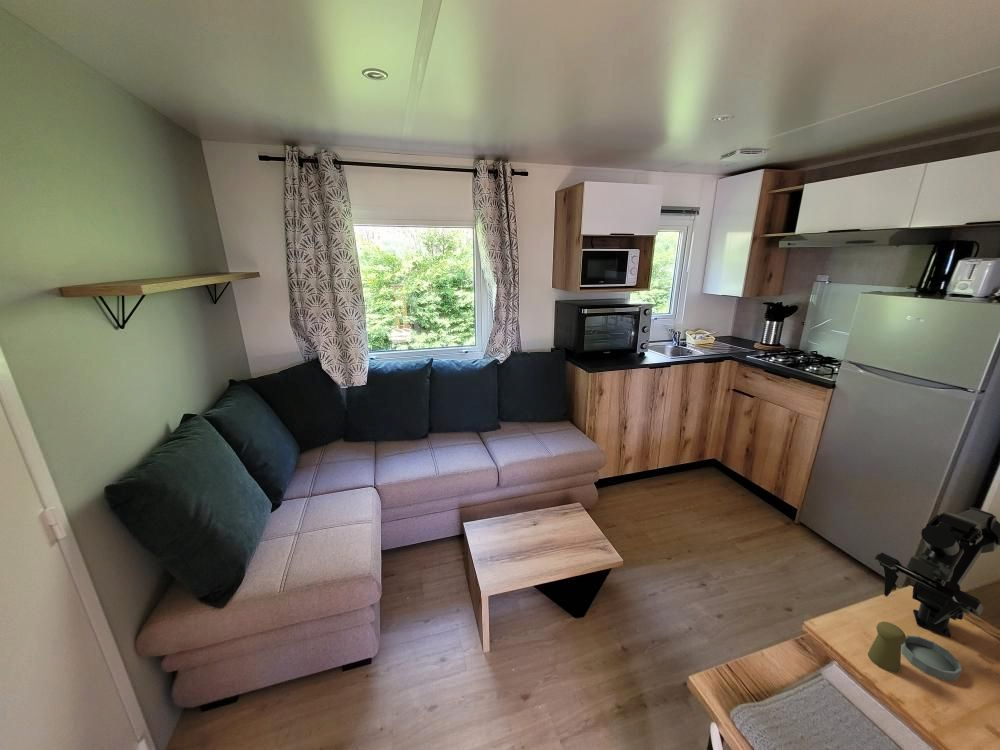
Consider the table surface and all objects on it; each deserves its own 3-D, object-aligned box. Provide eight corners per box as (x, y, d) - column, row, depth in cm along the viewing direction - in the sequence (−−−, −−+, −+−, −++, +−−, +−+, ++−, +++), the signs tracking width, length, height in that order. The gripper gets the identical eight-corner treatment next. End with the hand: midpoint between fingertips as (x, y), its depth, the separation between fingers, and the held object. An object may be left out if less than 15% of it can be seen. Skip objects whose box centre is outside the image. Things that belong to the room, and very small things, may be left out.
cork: (907, 674, 94) (916, 640, 92) (878, 670, 95) (887, 636, 93) (888, 652, 100) (896, 618, 97) (861, 648, 101) (869, 615, 99)
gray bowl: (897, 636, 104) (899, 629, 104) (952, 657, 98) (954, 649, 97) (904, 664, 97) (906, 656, 96) (963, 689, 90) (966, 681, 90)
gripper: (884, 527, 103) (854, 574, 102) (990, 573, 86) (956, 630, 85) (894, 541, 108) (866, 586, 107) (996, 587, 91) (964, 642, 90)
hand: (908, 609), depth 97 cm, fingers open, 9 cm apart
